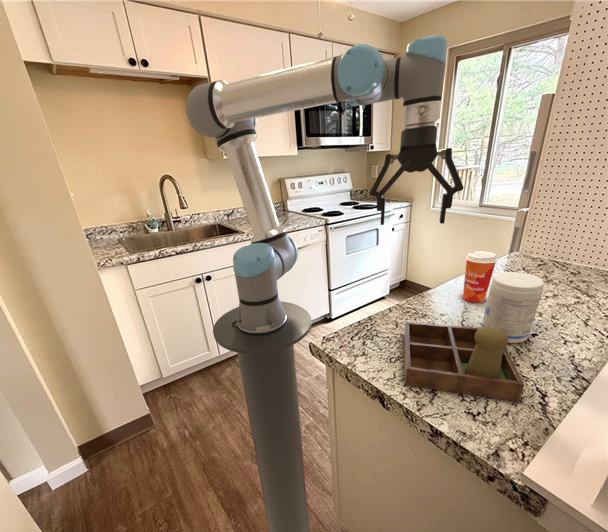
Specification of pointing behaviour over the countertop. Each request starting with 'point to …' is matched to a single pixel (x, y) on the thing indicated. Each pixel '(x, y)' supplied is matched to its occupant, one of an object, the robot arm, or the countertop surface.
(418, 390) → the countertop surface
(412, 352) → the grid
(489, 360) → the cork
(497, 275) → the supplement tub
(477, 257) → the paper cup
